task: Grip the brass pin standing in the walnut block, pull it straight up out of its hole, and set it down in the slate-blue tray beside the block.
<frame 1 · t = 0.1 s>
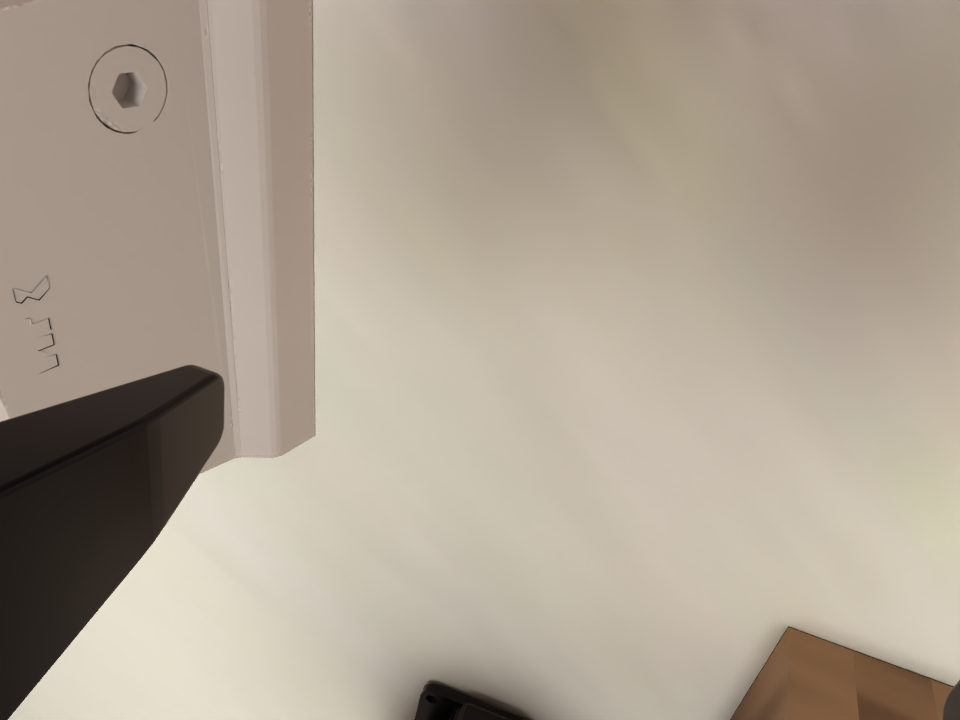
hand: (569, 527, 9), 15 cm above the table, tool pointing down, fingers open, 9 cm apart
hinge: (212, 210, 27), on the table
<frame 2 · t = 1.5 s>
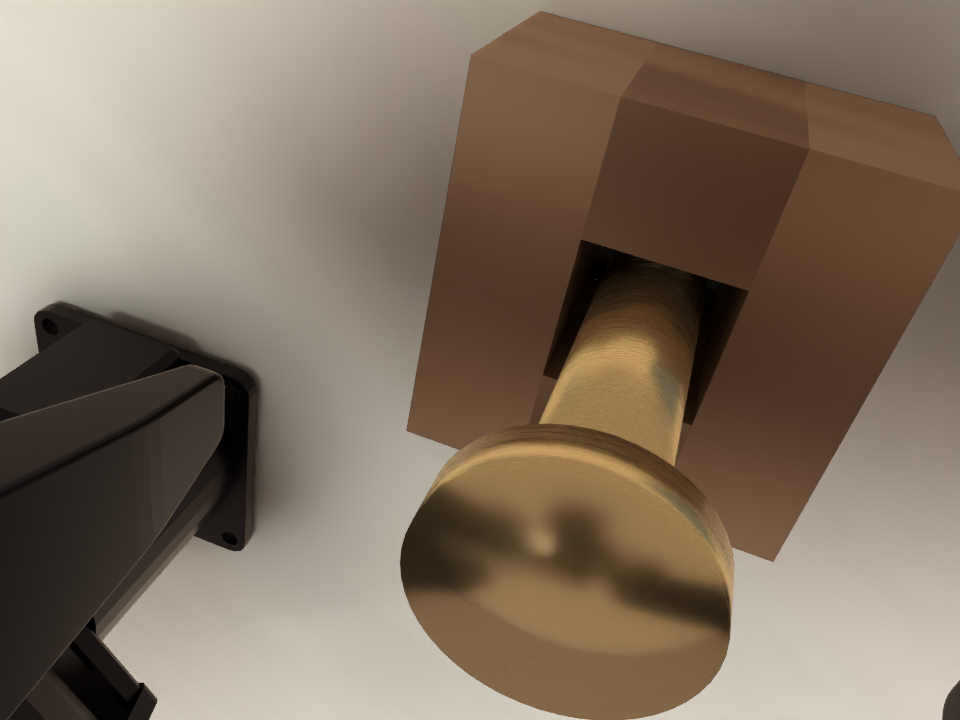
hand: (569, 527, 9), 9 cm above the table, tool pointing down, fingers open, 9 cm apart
pin block: (668, 240, 16), on the table
brass pin: (630, 364, 12), in the pin block
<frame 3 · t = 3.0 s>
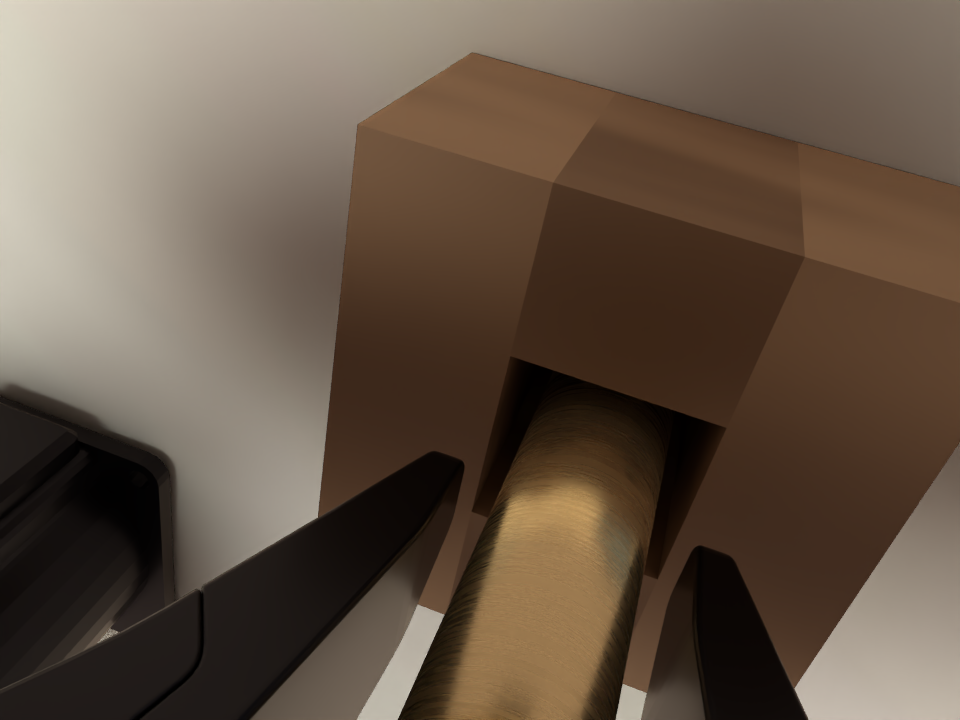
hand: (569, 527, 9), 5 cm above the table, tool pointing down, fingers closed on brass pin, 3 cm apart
pin block: (634, 324, 14), on the table
brass pin: (572, 520, 10), in the pin block, touching gripper
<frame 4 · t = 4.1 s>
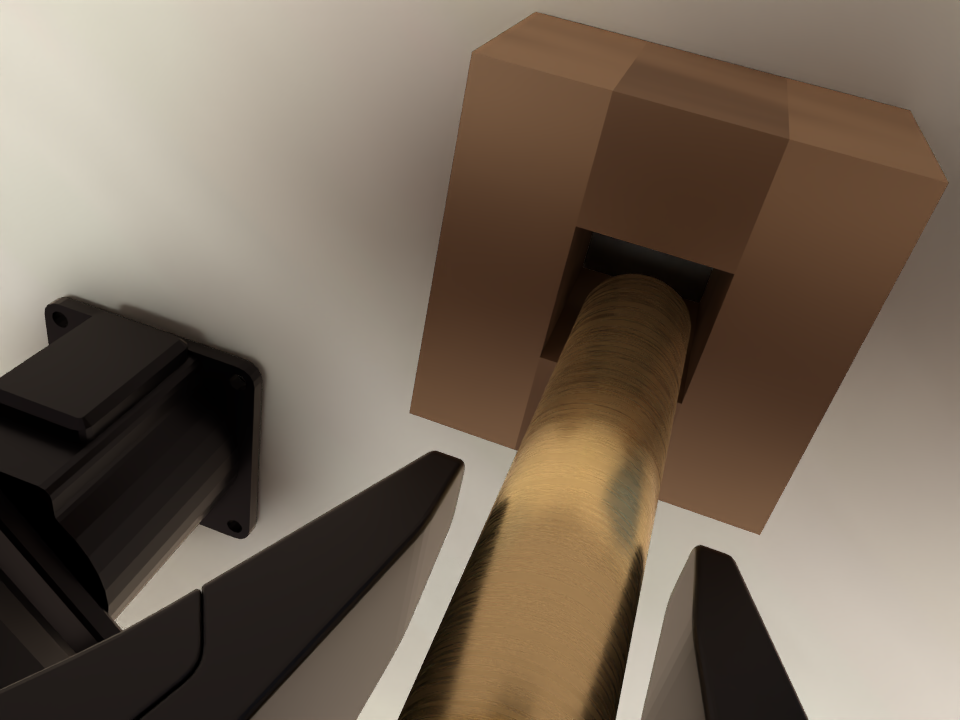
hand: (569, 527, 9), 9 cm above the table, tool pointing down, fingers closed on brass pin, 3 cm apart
pin block: (658, 230, 17), on the table
brass pin: (572, 519, 10), point 9 cm above the table, touching gripper
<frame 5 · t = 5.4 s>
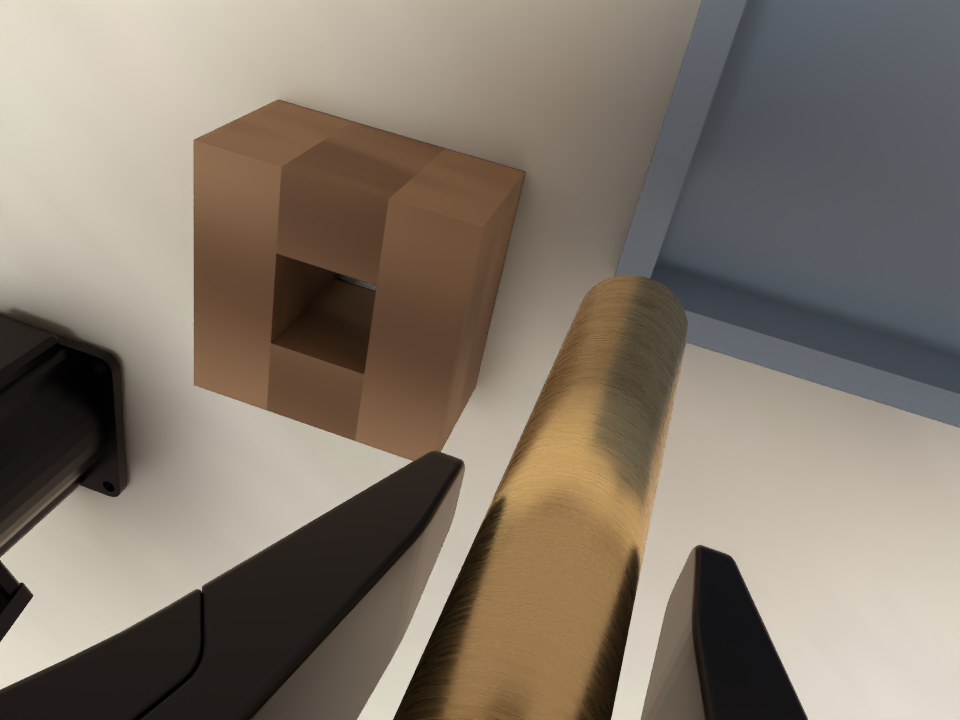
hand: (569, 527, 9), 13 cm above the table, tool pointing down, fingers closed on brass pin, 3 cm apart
pin block: (382, 253, 24), on the table
brass pin: (568, 521, 10), point 13 cm above the table, touching gripper
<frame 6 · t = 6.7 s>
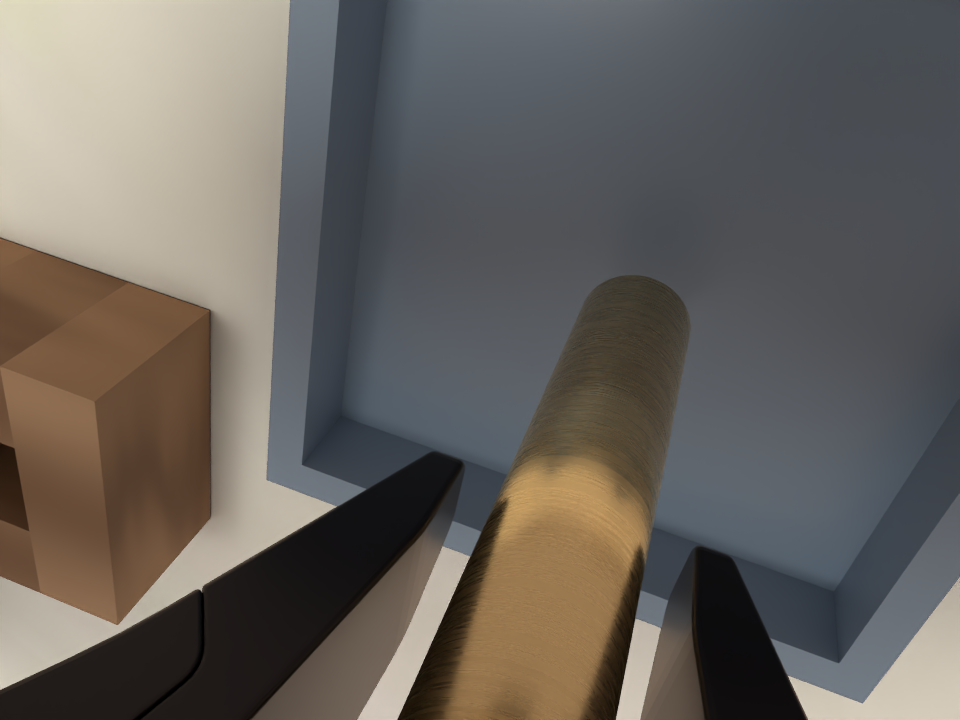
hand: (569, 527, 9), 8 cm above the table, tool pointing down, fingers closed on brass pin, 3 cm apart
pin block: (93, 380, 22), on the table
tray: (656, 263, 16), on the table
brass pin: (571, 522, 9), point 7 cm above the table, touching gripper
when the fingers open (7 cm above the table, at t = 7.3 s): brass pin drops 2 cm, resting on tray.
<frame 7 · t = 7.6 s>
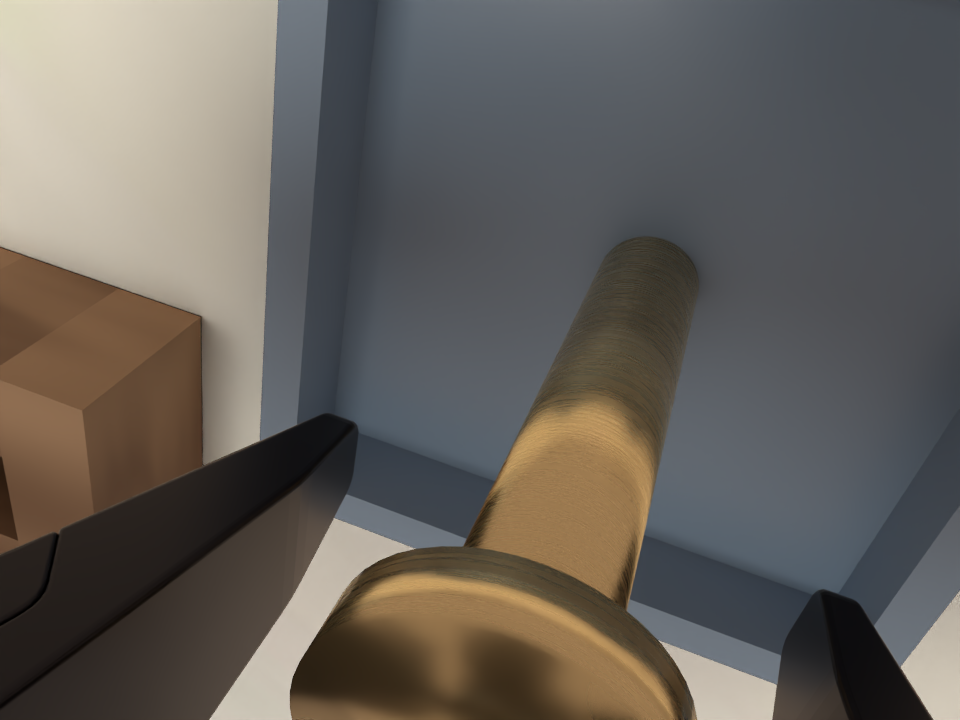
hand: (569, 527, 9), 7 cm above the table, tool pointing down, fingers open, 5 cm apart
pin block: (84, 387, 22), on the table
tray: (652, 270, 15), on the table
brass pin: (593, 437, 11), in the tray, point 6 cm above the table
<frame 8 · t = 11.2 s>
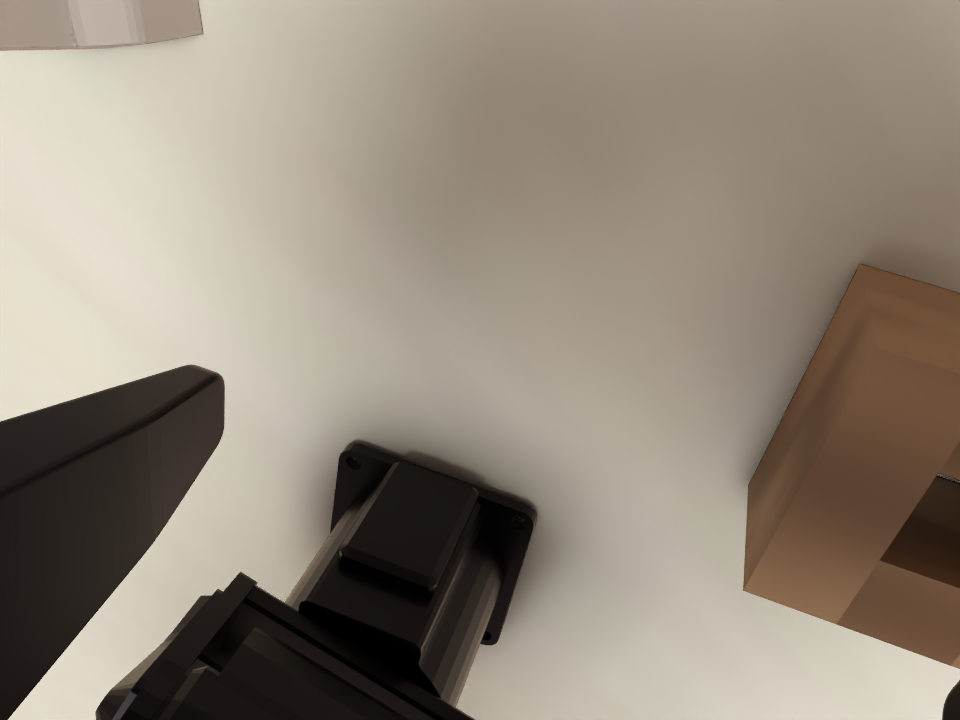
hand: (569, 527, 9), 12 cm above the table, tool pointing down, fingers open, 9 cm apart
pin block: (940, 430, 20), on the table
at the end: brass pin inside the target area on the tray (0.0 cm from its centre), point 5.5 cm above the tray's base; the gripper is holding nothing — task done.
